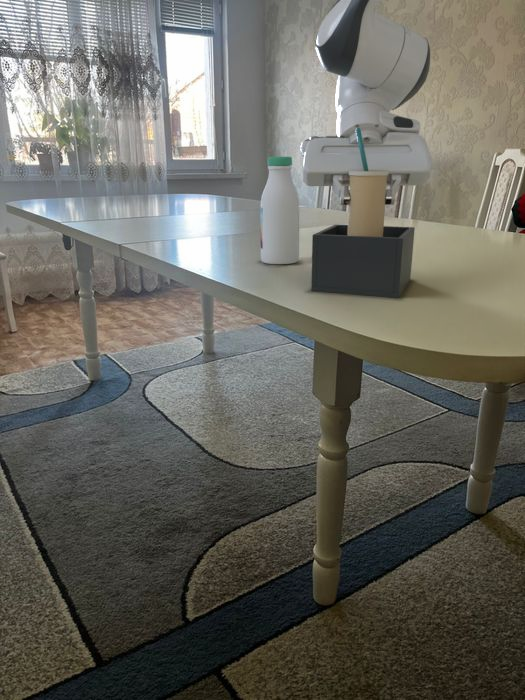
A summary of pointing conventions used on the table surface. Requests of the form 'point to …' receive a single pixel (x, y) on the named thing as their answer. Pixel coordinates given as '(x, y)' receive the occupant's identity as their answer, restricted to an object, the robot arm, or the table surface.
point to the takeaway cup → (366, 199)
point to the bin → (362, 261)
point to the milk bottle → (279, 215)
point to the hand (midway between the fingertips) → (367, 202)
